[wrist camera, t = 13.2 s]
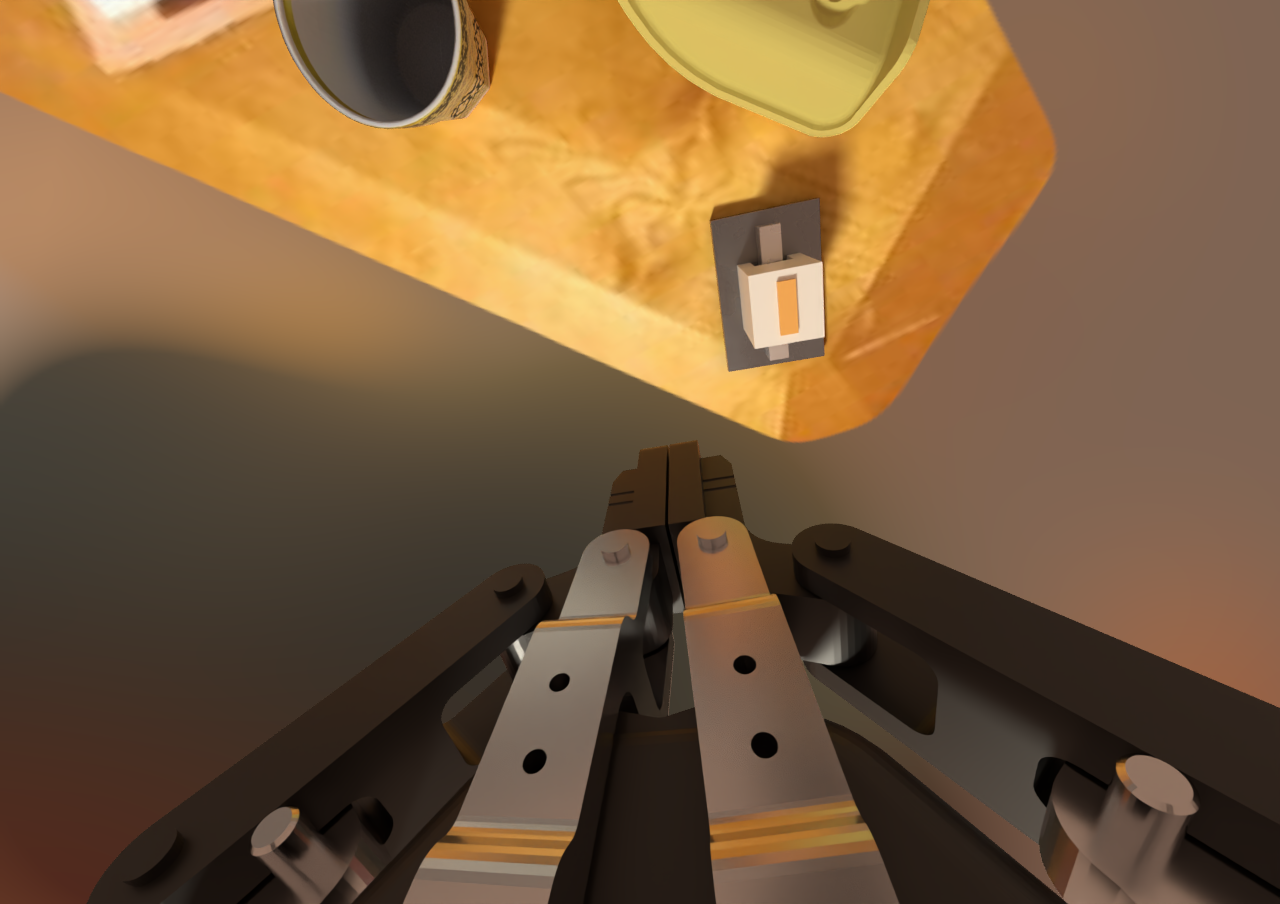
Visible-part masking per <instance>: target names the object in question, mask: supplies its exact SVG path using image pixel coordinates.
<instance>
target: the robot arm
mask: <svg viewBox="0 0 1280 904" xmlns="http://www.w3.org/2000/svg"><path fill="white" fill-rule="evenodd" d="M685 608H686V609H685ZM680 612H683V613H684V623H685V630H686V639H687V647H688V655H689V663H690V671H691V679H692V688H693V695H694V704H695V707H694V708H691V709H688V710H685V711H682V712H679V713H676V714H673V715H670V716H668V712H669V701H670V690H671V678H672V668H673V655H674V638H673V634H672V628H673V613H680ZM499 655H500V656H501V658H502V660H503V662H504V664H505V666H506V668H507V671H505V672H504V673H503V674H502V675H501V676H500V677H498V678H497V679H496V680H495V681H494V682H493V683H492V684H491V685H490V686H488V687H487V688H486V689H485V690H484V691H483V692H482V693H481V694H479V695H478V696H477V697H476V698H475V699H474V700H473V701H472V702H471V703H469V704H468V705H467V706H466V707H465V708H464V709H463V710H462V711H460V712H459V713H458V714H457V715H456V716H455V717H454V718H452V719H451V720H450V721H448V722H446V723H444V724H442V721H441V715H442V711H443V708H444V706H445V704H446V703H447V701H448V700H449V699H450V697H451V696H452V695H453V694H454V693H456V692H457V691H458V690H459V689H460V688H461V687H463V686H464V685H465V684H466V683H467V682H468V681H470V680H471V679H472V678H473V677H474V676H475V675H477V674H478V673H479V672H480V671H481V670H482V669H484V668H485V667H486V666H487V665H488V664H489V663H491V662H492V661H493V660H494V659H495V658H496V657H497V656H499ZM801 660H803V662H804V665H805V666H806V668H807V670H808V671H809V672H810V673H811V674H812V675H813V676H814V677H815V678H816V679H818V680H819V681H820V682H822V683H823V684H824V685H826V686H827V687H828V688H830V689H831V690H832V691H834V692H835V693H836V694H838V695H839V696H840V697H842V698H843V699H844V700H846V701H847V702H848V703H850V704H851V705H852V706H854V707H855V708H856V709H858V710H859V711H860V712H862V713H863V714H865V715H866V716H867V717H869V718H870V719H871V720H873V721H874V722H875V723H877V724H878V725H879V726H881V727H882V728H883V729H885V730H886V731H887V732H889V733H890V734H891V735H893V736H894V737H895V738H897V739H898V740H899V741H901V742H902V743H904V744H905V745H906V746H907V747H909V748H910V749H911V750H913V751H914V752H915V753H917V754H918V755H919V756H921V757H922V758H923V759H925V760H926V761H927V762H929V763H930V764H931V765H933V766H934V767H935V768H937V769H938V770H939V771H941V772H942V773H943V774H945V775H946V776H948V777H949V778H950V779H952V780H953V781H954V782H956V783H957V784H958V785H960V786H961V787H962V788H964V789H965V790H966V791H968V792H969V793H970V794H972V795H973V796H974V797H976V798H977V799H978V800H980V801H981V802H982V803H984V804H985V805H986V806H988V807H989V808H991V809H992V810H993V811H994V812H996V813H997V814H998V815H1000V816H1001V817H1003V818H1004V819H1005V820H1006V821H1008V822H1009V823H1010V824H1012V825H1013V826H1014V827H1016V828H1017V829H1018V830H1020V831H1021V832H1023V833H1024V834H1025V835H1026V836H1028V837H1029V838H1030V839H1032V840H1033V841H1035V842H1036V843H1038V844H1039V851H1040V854H1041V859H1042V863H1043V865H1044V867H1045V870H1046V872H1047V874H1048V876H1049V878H1050V880H1051V881H1052V883H1053V885H1054V887H1055V888H1056V889H1057V891H1058V892H1059V894H1060V895H1061V896H1062V898H1063V899H1064V900H1065V901H1066V902H1067V903H1066V902H1065V901H1064V900H1063V899H1062V898H1060V897H1059V896H1058V895H1057V894H1056V893H1054V892H1053V891H1052V890H1051V889H1050V888H1048V887H1047V886H1046V885H1045V884H1044V883H1042V882H1041V881H1040V880H1039V879H1038V878H1036V877H1035V876H1034V875H1033V874H1032V873H1030V872H1029V871H1028V870H1027V869H1026V868H1024V867H1023V866H1022V865H1021V864H1019V863H1018V862H1017V861H1016V860H1015V859H1013V858H1012V857H1011V856H1010V855H1009V854H1007V853H1006V852H1005V851H1004V850H1003V849H1001V848H1000V847H999V846H998V845H997V844H995V843H994V842H993V841H992V840H991V839H989V838H988V837H987V836H986V835H985V834H983V833H982V832H981V831H980V830H978V829H977V828H976V827H975V826H974V825H972V824H971V823H970V822H969V821H968V820H966V819H965V818H964V817H963V816H962V815H960V814H959V813H958V812H957V811H956V810H954V809H953V808H952V807H951V806H950V805H948V804H947V803H946V802H945V801H943V800H942V799H941V798H940V797H939V796H938V795H936V794H935V793H934V792H933V791H931V790H930V789H929V788H928V787H927V786H926V785H924V784H923V783H922V782H921V781H919V780H918V779H917V778H916V777H915V776H913V775H912V774H911V773H910V772H908V771H907V770H906V769H905V768H903V766H901V765H900V764H899V763H898V762H897V761H895V760H894V759H893V758H892V757H890V756H889V755H888V754H887V753H885V752H884V751H883V750H882V749H880V748H879V747H877V746H876V745H874V744H873V743H871V742H870V741H868V740H867V739H865V738H864V737H862V736H861V735H859V734H857V733H855V732H853V731H851V730H849V729H847V728H845V727H844V726H841V725H839V724H837V723H834V722H832V721H829V720H827V719H823V717H822V714H821V712H820V709H819V706H818V704H817V701H816V698H815V695H814V693H813V690H812V687H811V685H810V682H809V679H808V677H807V674H806V671H805V669H804V666H803V663H802V661H801ZM87 904H1280V708H1278V707H1276V706H1274V705H1272V704H1269V703H1267V702H1264V701H1262V700H1260V699H1257V698H1255V697H1253V696H1250V695H1248V694H1246V693H1243V692H1241V691H1239V690H1236V689H1234V688H1231V687H1229V686H1227V685H1224V684H1222V683H1220V682H1217V681H1215V680H1212V679H1210V678H1208V677H1206V676H1203V675H1201V674H1199V673H1196V672H1194V671H1191V670H1189V669H1187V668H1184V667H1182V666H1180V665H1177V664H1175V663H1173V662H1170V661H1168V660H1166V659H1163V658H1161V657H1159V656H1156V655H1154V654H1151V653H1149V652H1147V651H1144V650H1142V649H1140V648H1137V647H1135V646H1133V645H1130V644H1128V643H1126V642H1123V641H1121V640H1118V639H1116V638H1114V637H1111V636H1109V635H1107V634H1104V633H1102V632H1099V631H1097V630H1095V629H1093V628H1090V627H1088V626H1085V625H1083V624H1081V623H1078V622H1076V621H1074V620H1071V619H1069V618H1067V617H1064V616H1062V615H1059V614H1057V613H1055V612H1052V611H1050V610H1048V609H1045V608H1043V607H1040V606H1038V605H1036V604H1034V603H1031V602H1029V601H1027V600H1024V599H1022V598H1020V597H1017V596H1015V595H1012V594H1010V593H1008V592H1005V591H1003V590H1001V589H998V588H996V587H993V586H991V585H989V584H986V583H984V582H982V581H979V580H977V579H975V578H972V577H970V576H968V575H965V574H963V573H961V572H958V571H956V570H954V569H951V568H949V567H946V566H944V565H942V564H939V563H937V562H935V561H932V560H930V559H928V558H925V557H923V556H921V555H918V554H916V553H913V552H911V551H909V550H906V549H904V548H902V547H899V546H897V545H895V544H892V543H890V542H888V541H885V540H883V539H881V538H878V537H876V536H873V535H871V534H869V533H866V532H864V531H862V530H859V529H857V528H854V527H851V526H847V525H842V524H821V525H816V526H812V527H809V528H807V529H805V530H803V531H802V532H800V533H799V534H798V535H797V536H796V537H795V538H794V540H793V542H792V544H782V543H774V542H769V541H765V540H763V539H760V538H758V537H756V536H754V535H753V534H752V533H750V531H749V530H748V529H747V528H746V526H745V524H744V520H743V515H742V511H741V507H740V502H739V497H738V492H737V488H736V484H735V479H734V474H733V470H732V465H731V463H730V462H728V461H727V460H726V459H725V458H724V457H722V456H721V455H719V456H713V457H706V458H701V456H700V450H699V445H698V441H697V440H696V441H689V442H683V443H677V444H670V448H669V447H668V446H667V445H665V446H660V447H653V448H647V449H641V450H640V452H639V460H638V467H637V469H632V470H626V471H623V472H622V473H621V474H620V475H619V476H618V477H617V479H616V480H615V481H614V482H613V485H612V490H611V497H610V500H609V506H608V509H607V513H606V518H605V523H604V527H603V532H602V535H601V536H599V537H597V538H596V539H594V540H593V541H592V542H591V543H590V544H589V545H588V546H587V547H586V549H585V550H584V552H583V555H582V557H581V560H580V563H579V566H578V567H576V568H575V569H572V570H570V571H567V572H564V573H562V574H559V575H556V576H553V577H551V578H548V579H546V578H545V575H544V573H543V571H542V570H541V568H539V567H538V566H535V565H532V564H518V565H513V566H510V567H507V568H505V569H502V570H500V571H498V572H496V573H495V574H494V575H492V576H490V577H489V578H488V579H486V580H485V581H484V582H482V583H481V584H480V585H478V586H477V587H476V588H474V589H473V590H471V591H470V592H469V593H468V594H466V595H465V596H464V597H462V598H460V599H459V600H458V601H456V602H455V603H454V604H452V605H451V606H450V607H448V608H447V609H445V610H444V611H443V612H441V613H440V614H439V615H437V616H436V617H435V618H433V619H432V620H430V621H429V622H428V623H426V624H425V625H424V626H423V627H421V628H420V629H418V630H417V631H416V632H414V633H413V634H411V635H410V636H409V637H407V638H406V639H405V640H404V641H402V642H401V643H399V644H398V645H396V646H395V647H394V648H392V649H391V650H390V651H388V652H387V653H386V654H384V655H383V656H382V657H380V658H379V659H377V660H376V661H375V662H373V663H372V664H371V665H369V666H368V667H366V668H365V669H364V670H362V671H361V672H360V673H358V674H357V675H356V676H354V677H353V678H352V679H350V680H349V681H347V682H346V683H345V684H343V685H342V686H341V687H339V688H338V689H337V690H335V691H334V692H332V693H331V694H330V695H328V696H327V697H326V698H324V699H323V700H322V701H320V702H319V703H317V704H316V705H315V706H313V707H312V708H311V709H309V710H308V711H307V712H305V713H304V714H303V715H301V716H300V717H298V718H297V719H296V720H295V721H293V722H292V723H291V724H289V725H287V726H286V727H285V728H284V729H282V730H281V731H279V732H278V733H277V734H275V735H274V736H273V737H271V738H270V739H268V740H267V741H266V742H264V743H263V744H262V745H260V746H259V747H258V748H256V749H255V750H254V751H252V752H251V753H249V754H248V755H247V756H245V757H244V758H243V759H241V760H240V761H239V762H237V763H236V764H234V765H233V766H232V767H230V768H229V769H228V770H226V771H225V772H224V773H222V774H221V775H219V776H218V777H217V778H215V779H214V780H213V781H211V782H210V783H209V784H207V785H206V786H205V787H203V788H202V789H200V790H199V791H198V792H196V793H195V794H194V795H192V796H191V797H190V798H188V799H187V800H185V801H184V802H183V803H181V804H180V805H179V806H177V807H176V808H174V809H173V810H172V811H170V812H169V813H168V814H166V815H165V816H164V817H162V818H161V819H160V820H158V821H157V822H155V823H154V824H153V825H151V826H150V827H149V828H148V829H147V830H145V831H144V832H143V833H141V834H140V835H139V836H138V837H137V838H136V839H135V840H134V841H132V842H131V843H130V844H129V845H128V846H127V847H126V848H125V849H124V850H123V851H122V852H121V853H120V854H119V856H118V857H117V858H116V859H115V860H114V861H113V862H112V864H111V865H110V866H109V867H108V869H107V870H106V871H105V872H104V874H103V875H102V877H101V878H100V880H99V881H98V883H97V884H96V886H95V888H94V889H93V892H92V893H91V895H90V897H89V900H88V902H87Z"/></svg>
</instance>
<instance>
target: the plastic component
mask: <svg viewBox="0 0 1280 904" xmlns="http://www.w3.org/2000/svg"><path fill="white" fill-rule="evenodd" d="M618 2H619V4H620V5H621V7H622V8H623V10H624V12H625V13H626V15H627V16H628V18H629V19H630V20H631V22H632V23H633V25H634V26H635V27H636V29H637V30H638V32H639V33H640V34H641V35H642V36H643V38H644V39H645V40H646V41H647V43H648V44H649V45H650V46H651V47H652V48H653V49H654V50H655V51H656V52H657V53H658V54H659V55H660V56H661V57H662V58H663V59H664V60H665V61H666V62H667V63H668V64H669V65H670V66H671V67H672V68H674V69H675V70H676V71H677V72H679V73H680V74H681V75H682V76H684V77H685V78H686V79H688V80H689V81H691V82H692V83H694V84H695V85H697V86H698V87H700V88H702V89H703V90H705V91H707V92H709V93H710V94H712V95H714V96H716V97H718V98H720V99H723V100H725V101H728V102H730V103H732V104H735V105H737V106H740V107H742V108H744V109H747V110H749V111H752V112H754V113H756V114H759V115H761V116H764V117H766V118H768V119H771V120H773V121H775V122H778V123H780V124H783V125H785V126H787V127H790V128H792V129H795V130H797V131H799V132H802V133H804V134H807V135H809V136H813V137H831V136H835V135H839V134H842V133H844V132H846V131H848V130H850V129H851V128H852V127H854V126H855V125H856V124H858V122H859V121H860V120H861V119H862V118H863V117H864V115H865V114H866V113H867V112H868V111H869V109H870V108H871V107H872V106H873V105H874V103H875V102H876V101H877V100H878V99H879V97H880V96H881V95H882V94H883V93H884V91H885V90H886V89H887V88H888V87H889V86H890V84H891V83H892V82H893V81H894V80H895V78H896V77H897V76H898V75H899V74H900V72H901V71H902V70H903V68H904V67H905V65H906V64H907V62H908V60H909V59H910V57H911V55H912V53H913V51H914V49H915V47H916V44H917V42H918V38H919V35H920V32H921V28H922V25H923V22H924V18H925V15H926V12H927V8H928V5H929V2H930V0H618Z"/></svg>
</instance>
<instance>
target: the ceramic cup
mask: <svg viewBox="0 0 1280 904" xmlns="http://www.w3.org/2000/svg"><path fill="white" fill-rule="evenodd" d="M273 3H274V9H275V13H276V17H277V21H278V24H279V27H280V30H281V33H282V36H283V39H284V41H285V44H286V46H287V48H288V50H289V52H290V54H291V56H292V58H293V60H294V62H295V63H296V65H297V66H298V68H299V70H300V71H301V73H302V74H303V76H304V77H305V78H306V80H307V81H308V82H309V84H310V85H311V86H312V88H313V89H314V90H315V91H316V92H317V93H318V94H319V95H320V96H321V97H322V98H323V99H324V100H325V101H326V102H327V103H329V104H330V105H331V106H332V107H334V108H335V109H336V110H337V111H339V112H340V113H342V114H344V115H345V116H347V117H348V118H350V119H352V120H354V121H356V122H359V123H361V124H364V125H367V126H371V127H375V128H384V129H397V128H413V127H420V126H426V125H431V124H434V123H437V122H440V121H447V120H454V119H463V118H467V117H468V116H469V115H470V113H471V112H472V111H473V110H474V108H475V107H476V106H477V104H478V103H479V102H480V101H481V99H482V98H483V97H484V95H485V94H486V93H487V92H488V90H489V88H490V78H489V63H488V48H487V40H486V38H485V36H484V34H483V32H482V30H481V29H480V27H479V25H478V23H477V21H476V19H475V17H474V15H473V13H472V11H471V10H470V8H469V5H468V3H467V0H273Z"/></svg>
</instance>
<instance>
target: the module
mask: <svg viewBox="0 0 1280 904" xmlns="http://www.w3.org/2000/svg"><path fill="white" fill-rule="evenodd" d="M737 270H738V280H739V290H740V299H741V309H742V319H743V328H744V330H745V332H746V334H747V336H748V337H749V339H750V341H751V343H752V345H753V346H754V348H755V349H758V348H764V347H770V346H776V345H782V344H787V343H793V342H799V341H805V340H810V339H816V338H822V337H825V330H824V298H823V265H822V261H819V260H817V259H814V258H812V257H809V256H807V255H804V254H802V253H796V254H791V255H787V260H784V261H779V262H774V263H769V264H764V265H759V266H754V265H752V264H751V263H745V264H740V265H737Z"/></svg>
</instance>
